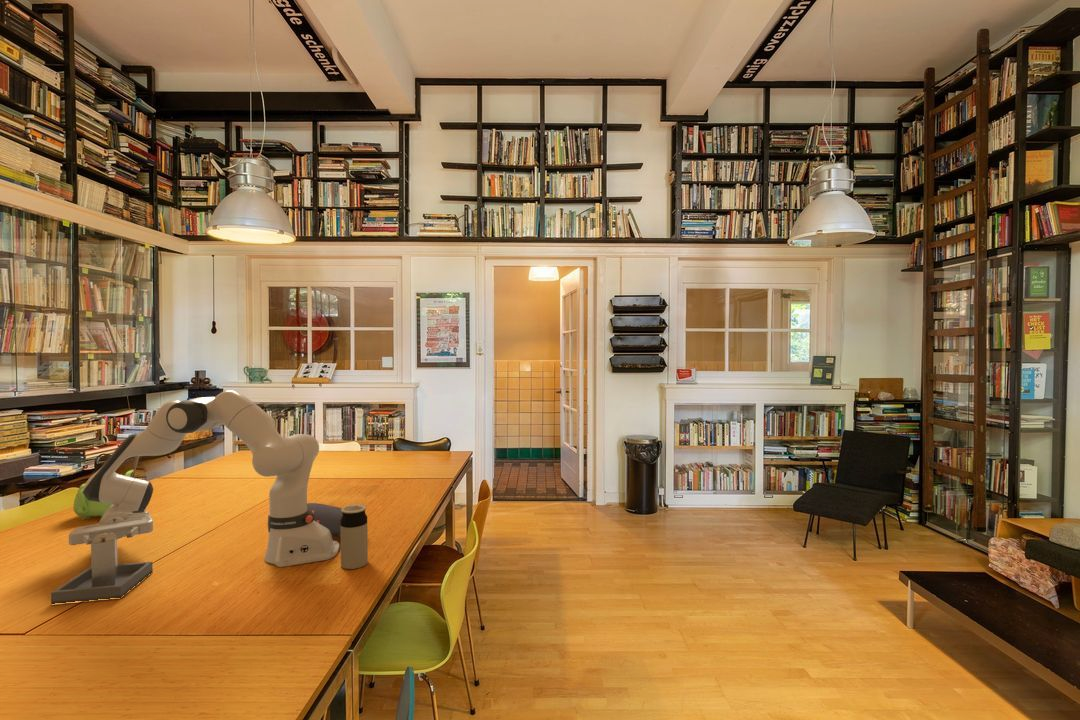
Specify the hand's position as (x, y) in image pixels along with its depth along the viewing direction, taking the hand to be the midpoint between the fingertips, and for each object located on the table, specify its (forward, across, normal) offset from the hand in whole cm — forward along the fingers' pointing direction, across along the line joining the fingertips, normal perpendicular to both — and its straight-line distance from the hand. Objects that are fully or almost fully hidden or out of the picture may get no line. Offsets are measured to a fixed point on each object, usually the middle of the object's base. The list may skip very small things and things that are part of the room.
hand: (109, 538), depth 152 cm
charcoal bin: (+12, 0, +10) cm, 16 cm away
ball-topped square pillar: (+12, 0, +10) cm, 15 cm away
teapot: (-69, -6, +11) cm, 70 cm away
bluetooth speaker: (+4, +62, +11) cm, 63 cm away
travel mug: (+36, +63, +10) cm, 73 cm away
